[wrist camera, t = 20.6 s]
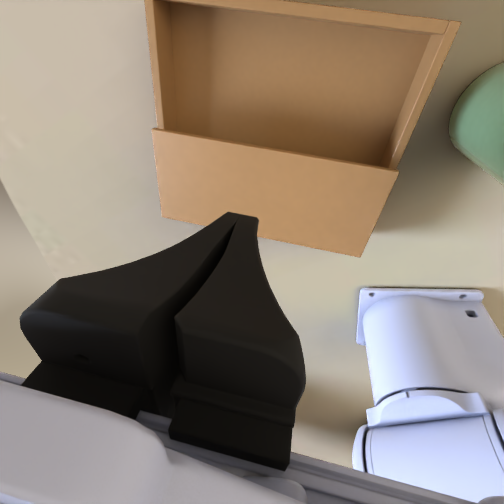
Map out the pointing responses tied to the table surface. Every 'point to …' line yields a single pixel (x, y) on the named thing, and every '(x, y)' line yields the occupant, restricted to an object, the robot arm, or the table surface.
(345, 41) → the carton
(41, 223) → the table surface
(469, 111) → the pot
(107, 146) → the table surface
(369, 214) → the flap
